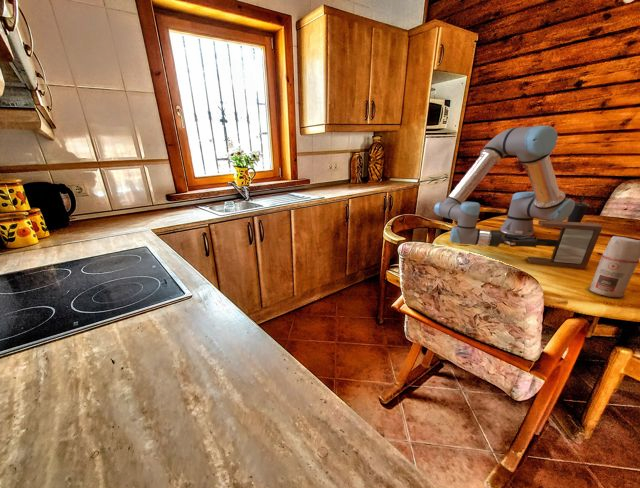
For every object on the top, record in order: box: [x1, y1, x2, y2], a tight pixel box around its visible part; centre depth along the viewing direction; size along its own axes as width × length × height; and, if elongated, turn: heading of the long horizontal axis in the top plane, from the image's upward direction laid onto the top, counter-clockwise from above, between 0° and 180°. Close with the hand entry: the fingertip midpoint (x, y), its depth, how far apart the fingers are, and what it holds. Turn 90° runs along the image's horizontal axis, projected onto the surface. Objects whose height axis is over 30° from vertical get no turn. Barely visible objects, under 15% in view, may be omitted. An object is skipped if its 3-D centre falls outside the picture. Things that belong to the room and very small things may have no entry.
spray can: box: [588, 235, 640, 298], centre depth 92 cm, size 8×8×20 cm
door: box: [550, 228, 565, 260], centre depth 115 cm, size 2×9×14 cm, turn 64°
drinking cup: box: [566, 192, 590, 223], centre depth 158 cm, size 8×8×20 cm
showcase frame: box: [526, 219, 604, 270], centre depth 115 cm, size 5×18×18 cm, turn 64°
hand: (556, 243), depth 116 cm, fingers closed
